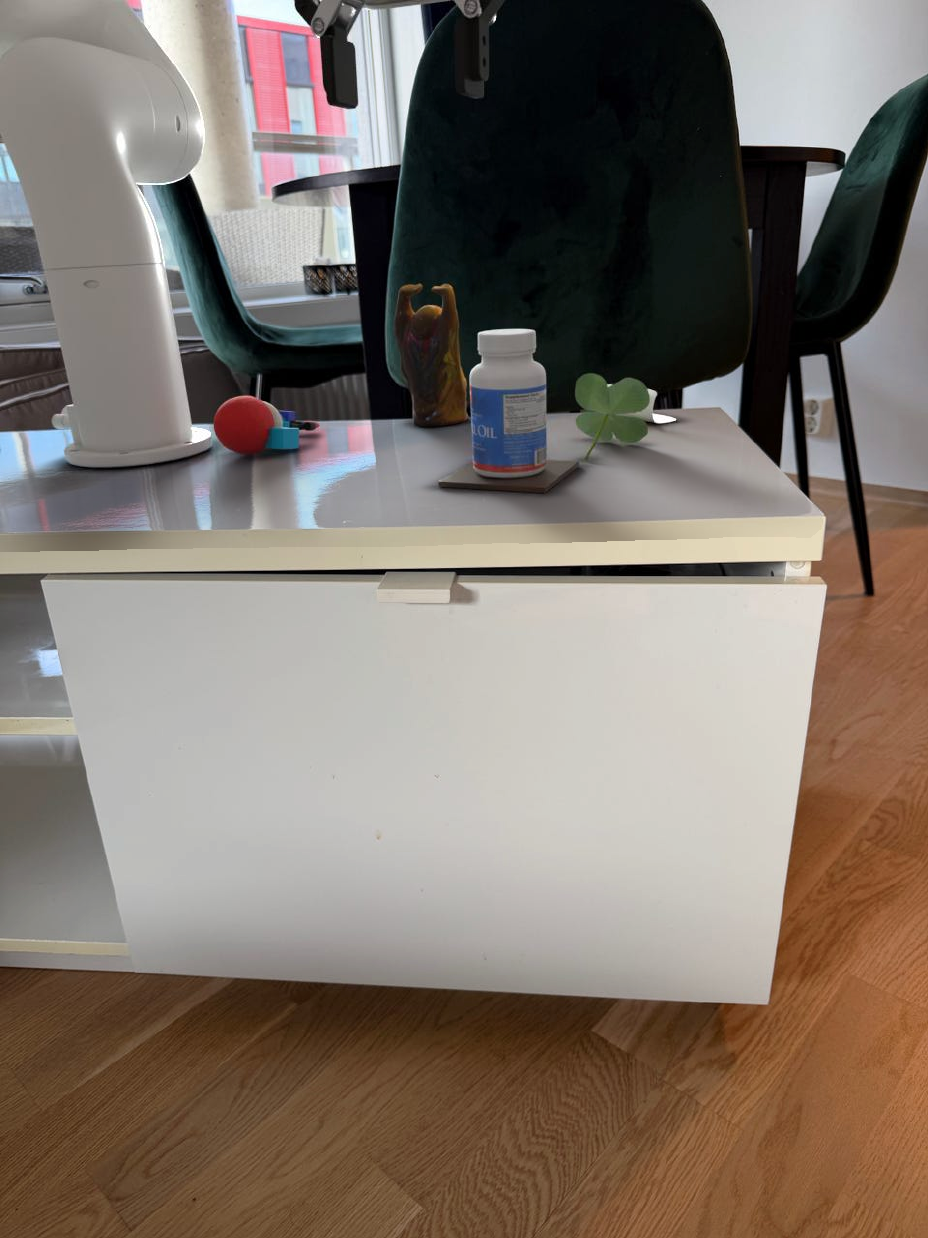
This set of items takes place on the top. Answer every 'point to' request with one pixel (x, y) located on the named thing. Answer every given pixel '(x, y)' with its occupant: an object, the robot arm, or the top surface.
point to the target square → (522, 484)
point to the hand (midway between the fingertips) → (404, 101)
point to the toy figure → (257, 426)
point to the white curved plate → (649, 411)
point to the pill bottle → (508, 406)
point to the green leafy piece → (611, 409)
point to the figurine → (431, 358)
